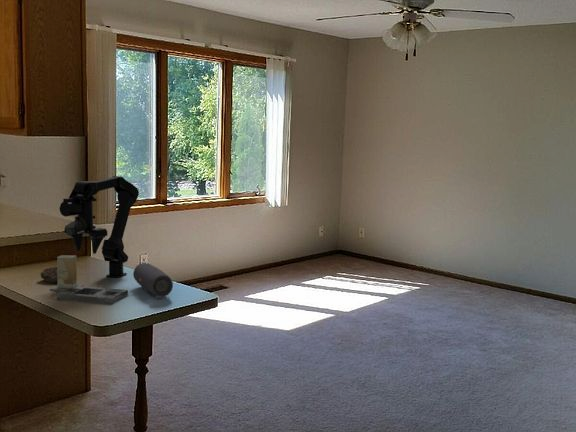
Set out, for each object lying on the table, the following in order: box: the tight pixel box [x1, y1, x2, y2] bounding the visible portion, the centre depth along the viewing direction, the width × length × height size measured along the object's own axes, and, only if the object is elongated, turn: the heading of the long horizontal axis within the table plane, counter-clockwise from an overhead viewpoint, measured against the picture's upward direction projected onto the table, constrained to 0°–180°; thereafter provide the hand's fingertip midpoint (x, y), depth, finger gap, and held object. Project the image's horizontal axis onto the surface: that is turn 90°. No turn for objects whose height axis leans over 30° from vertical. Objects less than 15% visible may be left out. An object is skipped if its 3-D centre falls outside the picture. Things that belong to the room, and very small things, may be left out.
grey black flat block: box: [56, 285, 129, 305], centre depth 227 cm, size 12×22×2 cm, turn 77°
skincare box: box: [56, 254, 78, 288], centre depth 238 cm, size 6×4×12 cm
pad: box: [49, 283, 85, 292], centre depth 238 cm, size 9×9×1 cm
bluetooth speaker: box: [132, 262, 174, 298], centre depth 234 cm, size 23×9×10 cm, turn 30°
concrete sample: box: [40, 266, 57, 284], centre depth 249 cm, size 12×10×5 cm
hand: (86, 252), depth 243 cm, fingers open, 9 cm apart
